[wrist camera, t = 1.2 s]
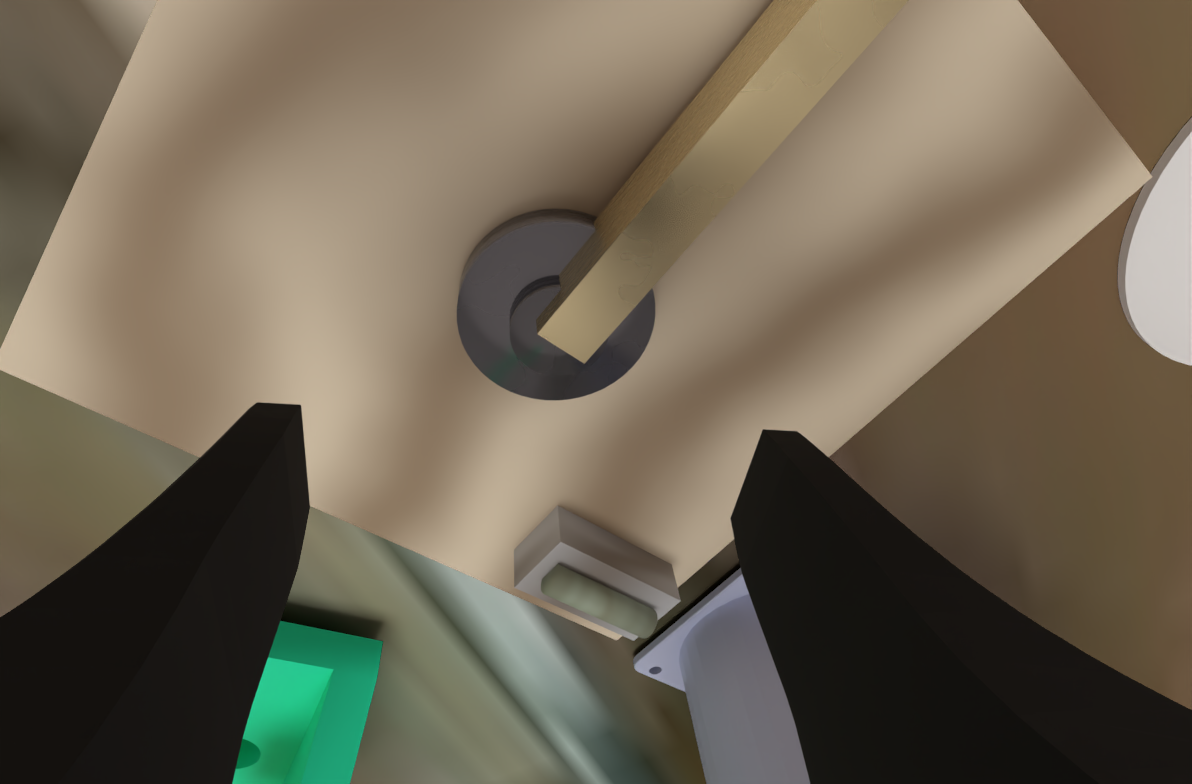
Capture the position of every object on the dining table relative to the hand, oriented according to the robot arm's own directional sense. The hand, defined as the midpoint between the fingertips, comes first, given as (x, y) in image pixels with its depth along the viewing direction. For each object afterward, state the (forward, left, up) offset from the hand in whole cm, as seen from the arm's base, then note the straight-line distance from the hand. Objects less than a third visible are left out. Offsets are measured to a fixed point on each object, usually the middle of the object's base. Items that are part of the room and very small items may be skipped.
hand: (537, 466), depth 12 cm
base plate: (-1, 0, -10) cm, 10 cm away
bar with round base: (-1, -3, -8) cm, 9 cm away
